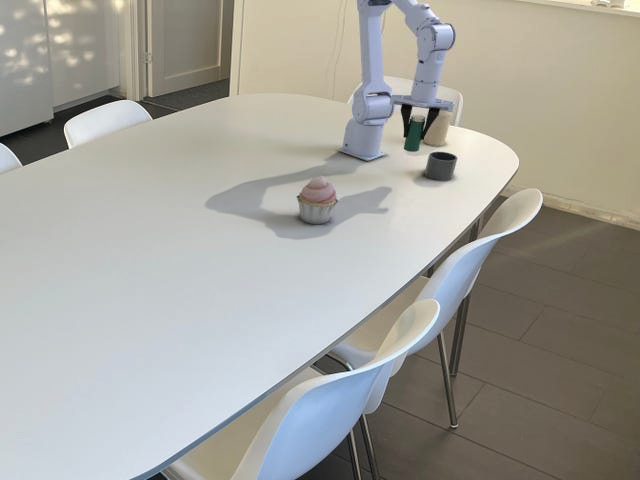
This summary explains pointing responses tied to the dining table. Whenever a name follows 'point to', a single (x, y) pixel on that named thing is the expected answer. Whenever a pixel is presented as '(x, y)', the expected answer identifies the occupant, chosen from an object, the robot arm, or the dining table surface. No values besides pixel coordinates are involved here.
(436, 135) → the candle
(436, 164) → the cup
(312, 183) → the cupcake
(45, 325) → the dining table surface
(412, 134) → the cylinder
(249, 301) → the dining table surface
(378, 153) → the robot arm
